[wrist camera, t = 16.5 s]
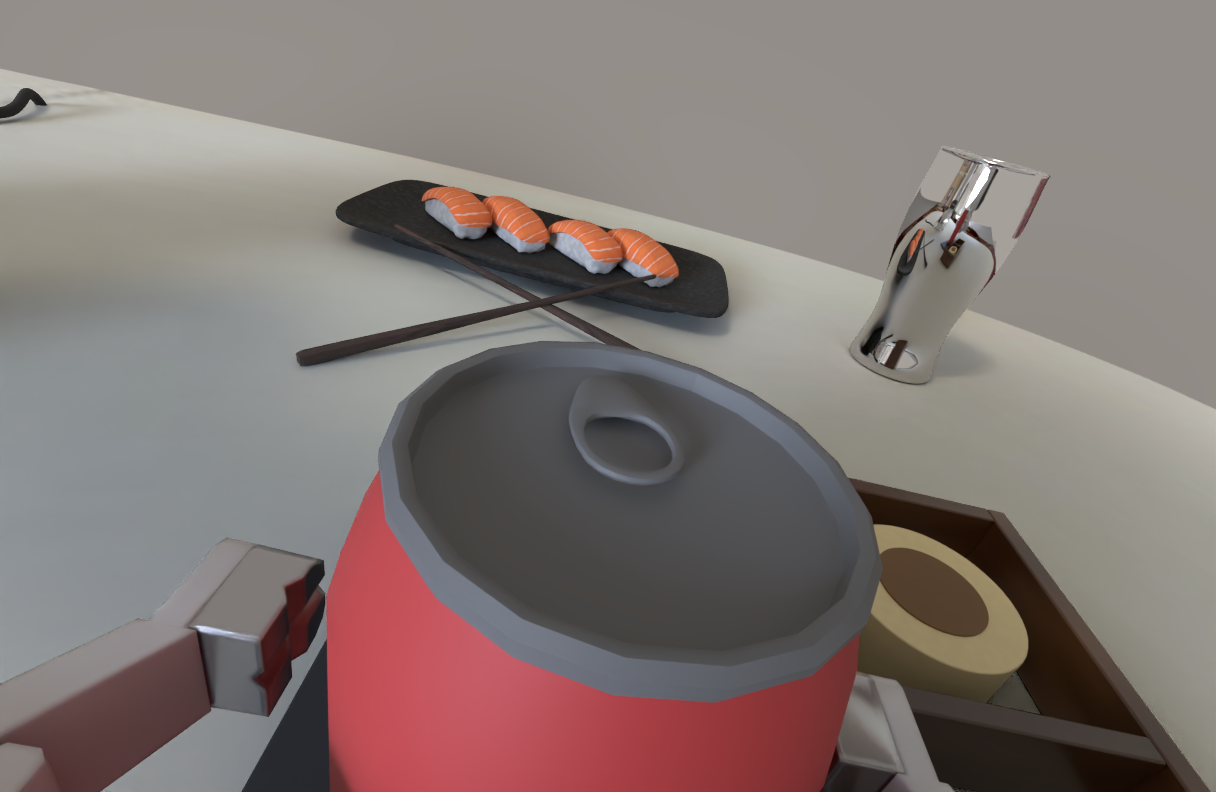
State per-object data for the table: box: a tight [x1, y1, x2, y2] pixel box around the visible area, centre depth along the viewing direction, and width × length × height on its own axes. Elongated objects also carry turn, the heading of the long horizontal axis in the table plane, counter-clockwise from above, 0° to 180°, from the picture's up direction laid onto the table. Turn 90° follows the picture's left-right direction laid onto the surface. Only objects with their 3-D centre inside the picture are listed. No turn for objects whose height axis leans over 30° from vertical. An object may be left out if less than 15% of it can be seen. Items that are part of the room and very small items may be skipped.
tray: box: [848, 478, 1210, 792], centre depth 17 cm, size 20×11×3 cm, turn 176°
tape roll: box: [857, 524, 1028, 703], centre depth 22 cm, size 6×6×3 cm
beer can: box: [326, 341, 883, 792], centre depth 10 cm, size 7×7×12 cm
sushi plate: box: [296, 180, 728, 366], centre depth 40 cm, size 29×30×4 cm
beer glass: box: [849, 146, 1050, 384], centre depth 42 cm, size 7×7×15 cm
